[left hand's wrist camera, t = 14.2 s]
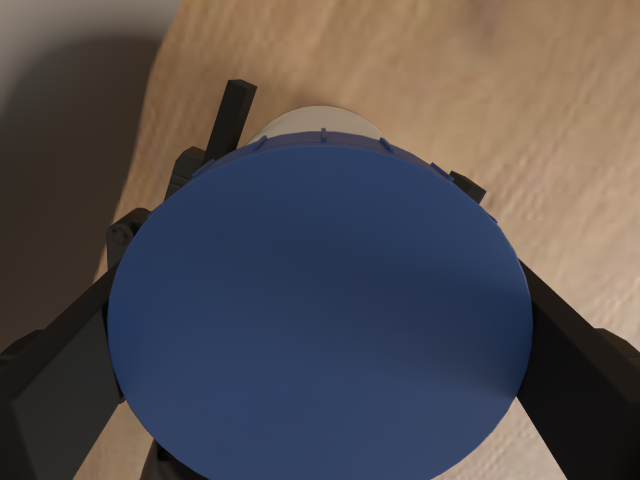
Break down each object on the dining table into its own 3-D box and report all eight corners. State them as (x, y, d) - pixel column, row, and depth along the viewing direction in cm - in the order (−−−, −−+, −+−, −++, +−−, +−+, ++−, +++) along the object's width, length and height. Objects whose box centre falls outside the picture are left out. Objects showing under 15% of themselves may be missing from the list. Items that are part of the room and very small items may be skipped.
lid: (301, 33, 10) (296, 22, 8) (572, 298, 12) (625, 345, 10) (73, 320, 12) (22, 370, 10) (332, 489, 15) (334, 557, 13)
